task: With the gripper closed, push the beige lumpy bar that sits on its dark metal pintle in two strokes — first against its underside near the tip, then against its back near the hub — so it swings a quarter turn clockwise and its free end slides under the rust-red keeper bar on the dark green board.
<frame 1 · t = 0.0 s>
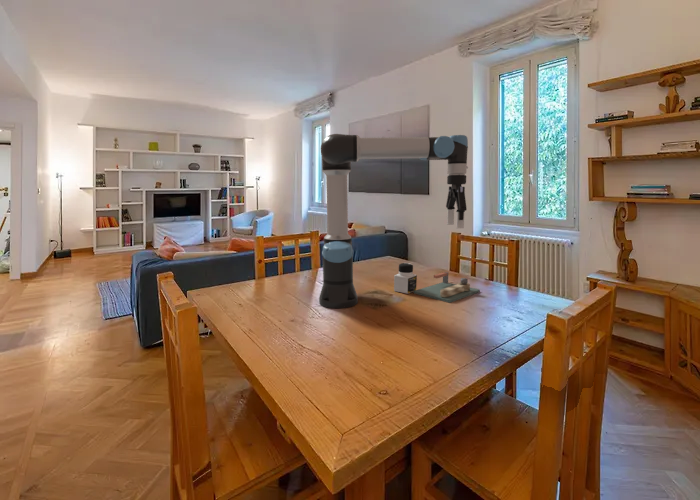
hand: (454, 226, 160), 28 cm above the table, fingers open, 13 cm apart
pintle board: (446, 292, 162), on the table
beige lumpy bar: (454, 289, 157), point 3 cm above the table, hinge at 0.0°
medicine bottle: (405, 291, 165), on the table
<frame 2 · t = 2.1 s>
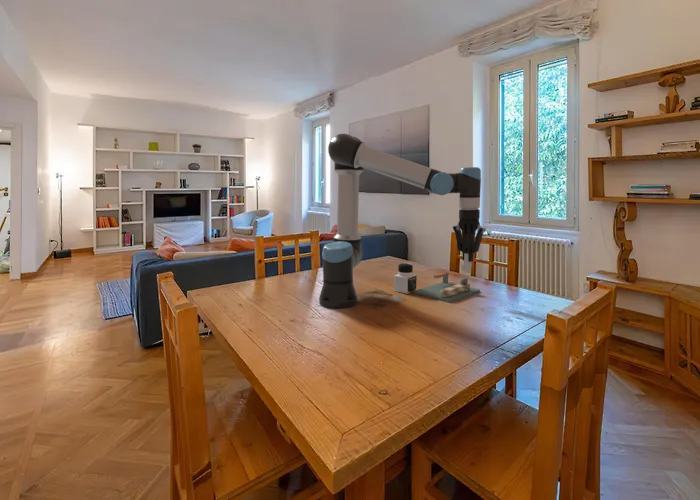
hand: (467, 269, 149), 13 cm above the table, fingers closed
nothing on the table moved.
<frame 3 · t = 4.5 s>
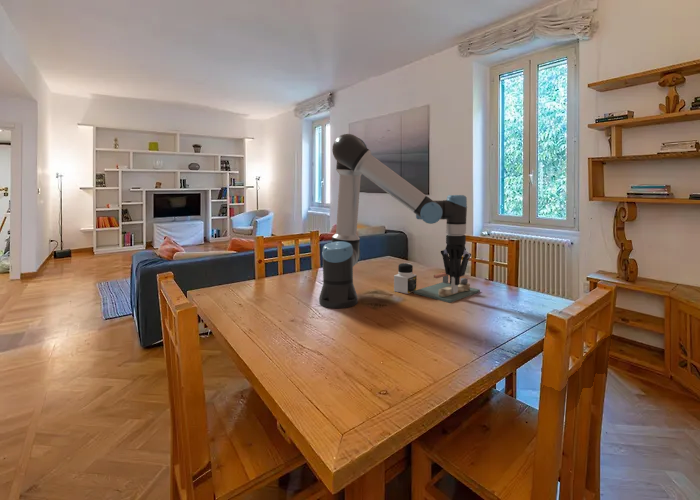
hand: (454, 292, 154), 2 cm above the table, fingers closed
beige lumpy bar: (454, 289, 157), point 3 cm above the table, hinge at -3.9°, touching gripper
everything else where it was.
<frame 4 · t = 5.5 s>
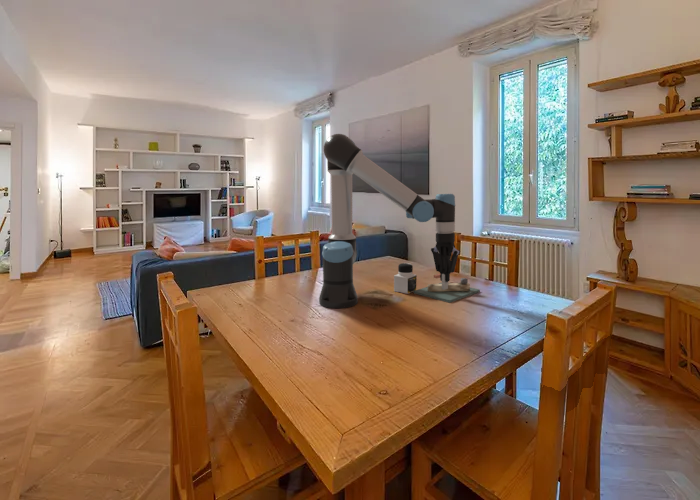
hand: (444, 288, 158), 3 cm above the table, fingers closed
beige lumpy bar: (448, 287, 161), point 3 cm above the table, hinge at -37.7°, touching gripper
everything else where it was.
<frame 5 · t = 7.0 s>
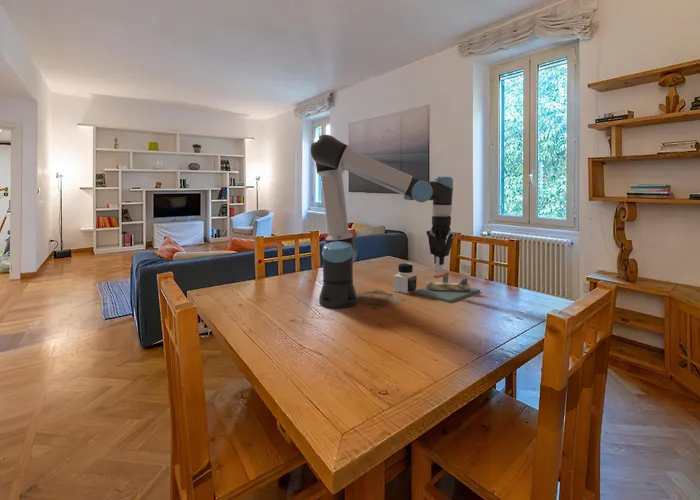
hand: (438, 271, 159), 9 cm above the table, fingers closed
beige lumpy bar: (448, 286, 162), point 3 cm above the table, hinge at -49.6°
everything else where it was.
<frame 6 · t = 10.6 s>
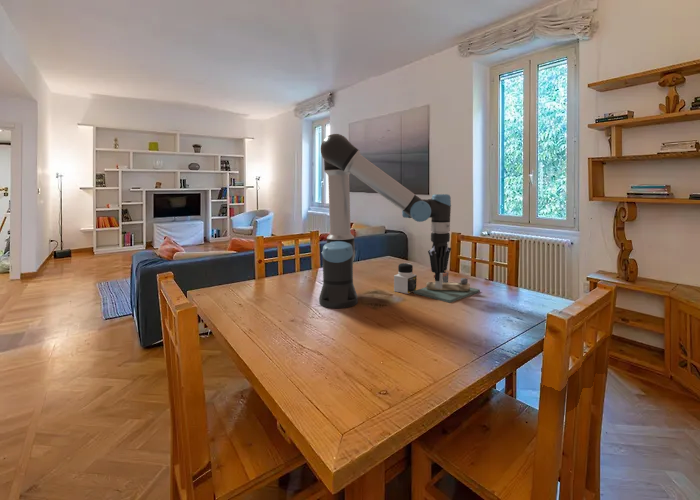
hand: (438, 288, 160), 3 cm above the table, fingers closed
beige lumpy bar: (447, 286, 162), point 3 cm above the table, hinge at -50.1°, touching gripper
everything else where it was.
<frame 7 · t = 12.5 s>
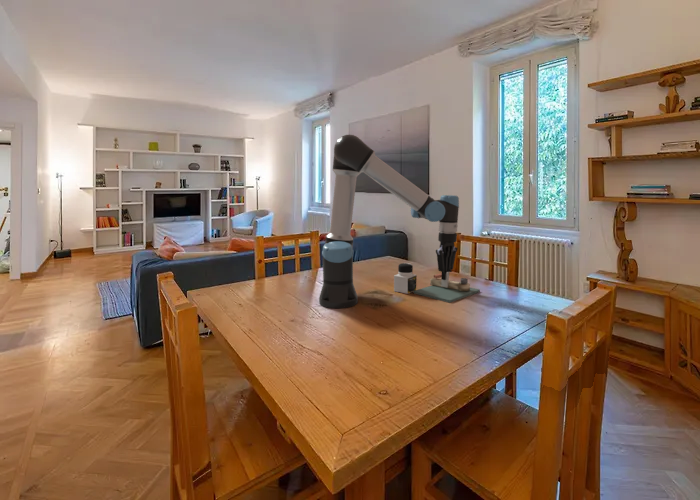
hand: (444, 286, 164), 2 cm above the table, fingers closed
beige lumpy bar: (449, 284, 165), point 3 cm above the table, hinge at -81.2°, touching gripper
everything else where it was.
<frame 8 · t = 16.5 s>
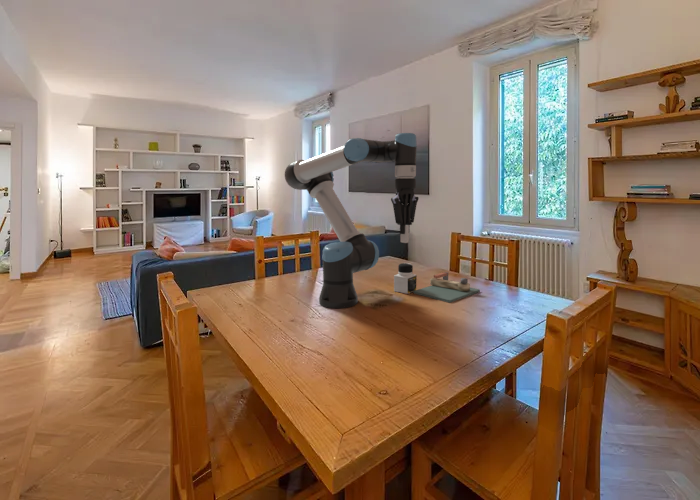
hand: (404, 242, 142), 24 cm above the table, fingers closed
beige lumpy bar: (449, 284, 165), point 3 cm above the table, hinge at -81.3°
everything else where it was.
at the end: beige lumpy bar at -81° (first picture: +0°); the gripper is holding nothing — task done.
